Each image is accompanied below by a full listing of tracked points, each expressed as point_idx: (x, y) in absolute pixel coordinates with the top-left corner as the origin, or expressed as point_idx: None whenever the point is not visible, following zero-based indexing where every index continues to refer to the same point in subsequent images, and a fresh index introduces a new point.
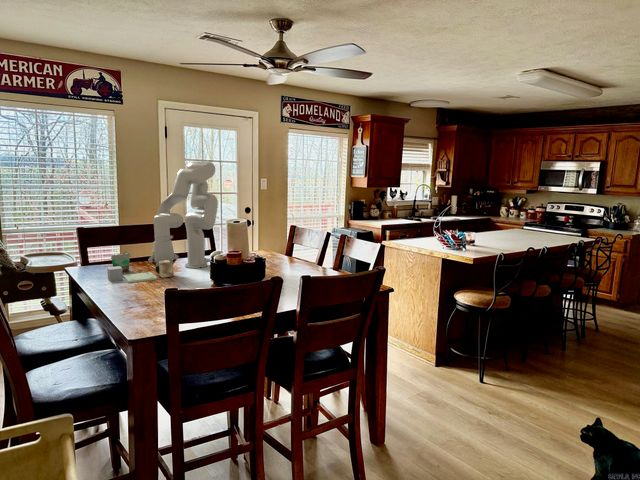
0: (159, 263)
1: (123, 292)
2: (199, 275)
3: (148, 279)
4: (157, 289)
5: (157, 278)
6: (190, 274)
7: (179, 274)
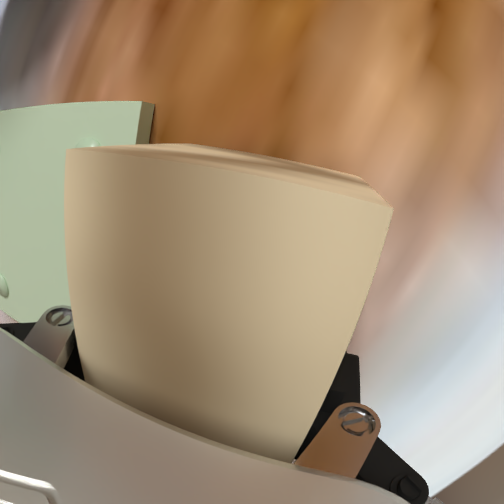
0: (102, 373)
1: None
2: (457, 458)
3: None
4: None
5: None
6: (455, 410)
7: (401, 359)
